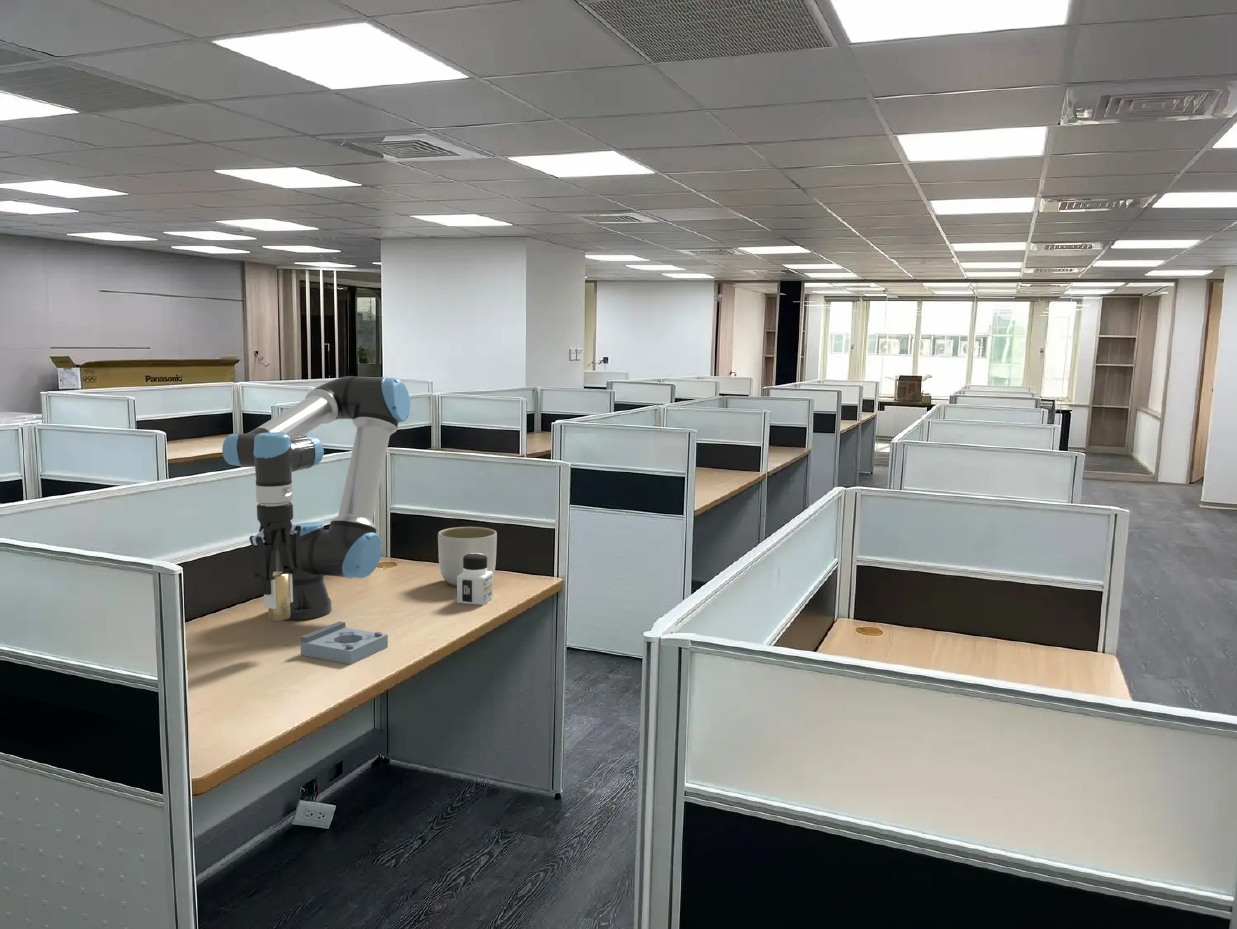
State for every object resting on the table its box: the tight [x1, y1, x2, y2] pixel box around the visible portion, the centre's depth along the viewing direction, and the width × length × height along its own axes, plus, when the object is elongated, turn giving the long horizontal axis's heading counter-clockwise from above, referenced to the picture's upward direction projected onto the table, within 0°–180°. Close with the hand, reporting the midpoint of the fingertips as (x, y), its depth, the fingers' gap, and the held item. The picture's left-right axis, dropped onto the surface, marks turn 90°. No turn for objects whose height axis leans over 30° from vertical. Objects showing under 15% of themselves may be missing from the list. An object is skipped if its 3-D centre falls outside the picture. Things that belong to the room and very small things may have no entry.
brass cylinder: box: [267, 571, 290, 621], centre depth 207 cm, size 5×5×10 cm
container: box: [456, 553, 494, 606], centre depth 253 cm, size 8×8×13 cm
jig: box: [300, 621, 389, 665], centre depth 211 cm, size 14×13×4 cm
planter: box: [437, 526, 498, 587], centre depth 272 cm, size 17×17×15 cm
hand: (279, 604), depth 208 cm, fingers closed on brass cylinder, 4 cm apart
